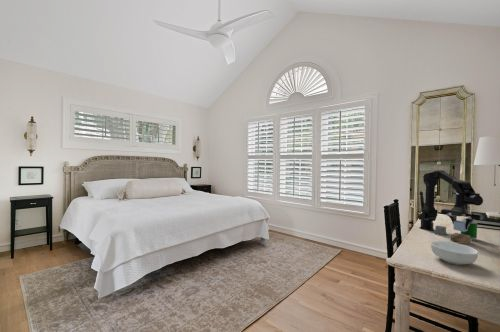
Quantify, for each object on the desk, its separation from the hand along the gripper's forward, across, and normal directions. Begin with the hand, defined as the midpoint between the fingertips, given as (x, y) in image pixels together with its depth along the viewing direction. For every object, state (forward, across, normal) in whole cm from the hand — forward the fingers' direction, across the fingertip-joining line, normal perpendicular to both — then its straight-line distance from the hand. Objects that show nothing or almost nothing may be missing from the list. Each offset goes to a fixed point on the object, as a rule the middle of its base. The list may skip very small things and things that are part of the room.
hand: (460, 228), depth 144 cm
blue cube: (+1, 0, 0) cm, 1 cm away
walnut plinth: (+8, 0, 0) cm, 8 cm away
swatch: (+8, -7, +5) cm, 12 cm away
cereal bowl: (+8, +12, -41) cm, 44 cm away
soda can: (+8, 0, +13) cm, 15 cm away
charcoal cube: (+8, -13, +7) cm, 17 cm away
